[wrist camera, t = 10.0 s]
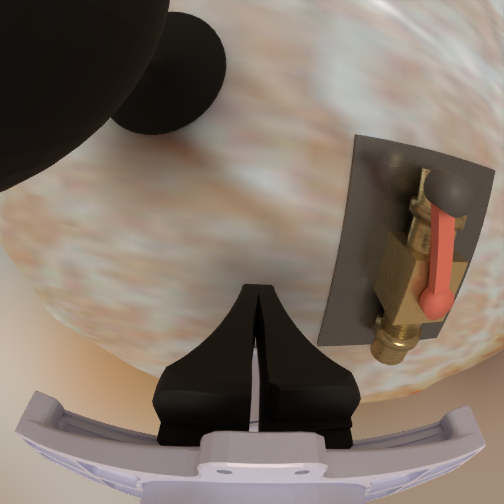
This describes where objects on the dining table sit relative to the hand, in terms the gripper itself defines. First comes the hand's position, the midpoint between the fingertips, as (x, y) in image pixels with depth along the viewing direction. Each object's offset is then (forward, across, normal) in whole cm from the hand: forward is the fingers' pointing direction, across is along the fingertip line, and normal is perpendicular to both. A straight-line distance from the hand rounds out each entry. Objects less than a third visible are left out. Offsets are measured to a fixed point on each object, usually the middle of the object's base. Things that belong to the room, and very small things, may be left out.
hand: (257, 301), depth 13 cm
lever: (+4, -13, -1) cm, 13 cm away
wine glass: (+11, +8, -12) cm, 18 cm away
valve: (+10, -14, +3) cm, 18 cm away
